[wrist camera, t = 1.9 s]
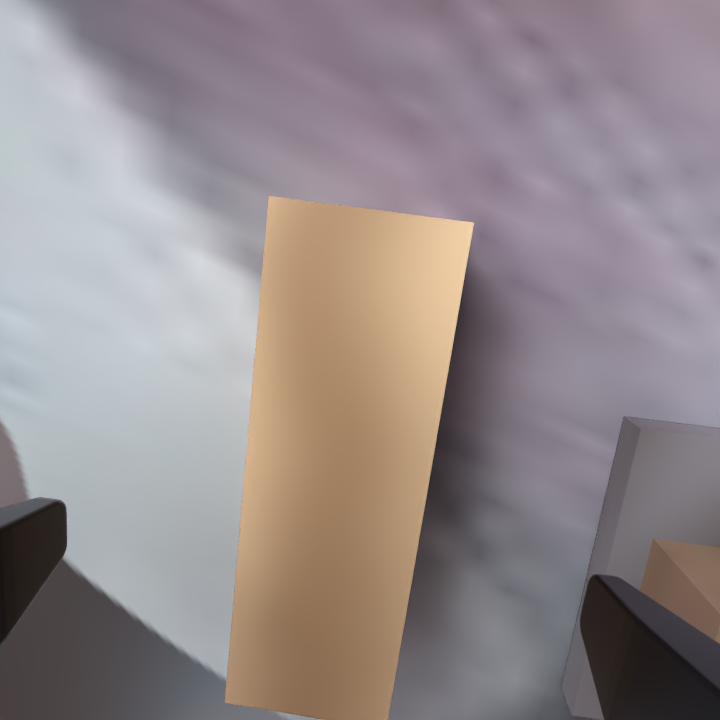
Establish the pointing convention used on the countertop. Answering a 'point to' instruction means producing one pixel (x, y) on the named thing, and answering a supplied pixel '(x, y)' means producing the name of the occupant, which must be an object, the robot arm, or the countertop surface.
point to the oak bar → (339, 452)
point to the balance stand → (657, 534)
